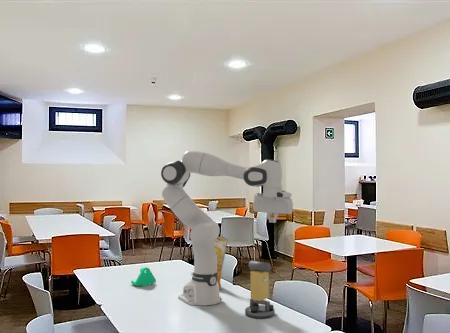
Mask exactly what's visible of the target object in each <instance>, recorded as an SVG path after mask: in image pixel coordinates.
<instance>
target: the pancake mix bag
mask: <svg viewBox="0 0 450 333" xmlns="http://www.w3.org/2000/svg"><path fill="white" fill-rule="evenodd" d="M227 245H228V239H227V238H226V237H223V236H218V237H217V239H216V240H214V246H215V252H216V255H217V272H218V280H217V282H218V285H219V290H221V289H222V286H221V285H222V283H221V279H222V276H223V275H222V274H223V267H224V261H225V257H226V250H227V247H228V246H227Z"/></svg>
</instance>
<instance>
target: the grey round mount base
mask: <svg viewBox="0 0 450 333" xmlns="http://www.w3.org/2000/svg"><path fill="white" fill-rule="evenodd" d="M266 301H267V302H265V305H262V304H258V303H253V299H251V298H249V306H246V308H245V310H244V314H245V316H246V317H248V318H250V319H255V320H267V319H271V318H273V317H275V312H276V310H275V308H274V305H273V304H271V301H268V300H266Z"/></svg>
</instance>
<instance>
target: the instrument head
mask: <svg viewBox="0 0 450 333" xmlns="http://www.w3.org/2000/svg"><path fill="white" fill-rule="evenodd" d="M248 268H249V270H250V299H253V303H258V304H259V305H264V306H265V302H267V301H268V300H266V299H269V298H270V287H269V286H270V284H269V280H270V276H269V273H270V271H271V270H272V269H271V268H272V267H271V264H270V262H264V261H256V260H250V261H249V262H248Z"/></svg>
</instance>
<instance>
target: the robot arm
mask: <svg viewBox="0 0 450 333" xmlns="http://www.w3.org/2000/svg"><path fill="white" fill-rule="evenodd" d="M160 171H161V173H160V176H161V178H162V180H163V182H165V183H166V185H165V186H164V188H163V190H162V191H161V196H162V198H163V200H164V201H165V204H166V205H167V206H168V208H169V209H170V210H171V211H172V212H173V214H174V216H176V217H177V219H178V220H179V221H180V223H182V224H184V225H186V226H187V227H188V228H189V229H190V233H189V237H190V238H189V239H190V240H191V244H192V245H191V246H192V250H193V258H194V259H193V260H194V262H193V266H194V268H193V272H192V273H190V276H192V277H191V279H190V281H188V282H187V283H185V285H184V286H183V292H182V294H179V295H178V299H179V300H181V302H182V301H183V302H185V304H188V305H189V306H212V305H216V304H219V303H221V298H222V297H221V295H220V289H219V285H218V282H217V280H218V272H217V255H216V252H215V246H214V240H216V239H217V237H218V236H219V235H220V230H221V229H220V226H219V224H218V223H217V222H216V221H214V220H213V219H212V218H211V217H210V216H209V214H208V213H205V211H203V210H202V209H201V208H200V207H199V206H198V205H197V204H196V202H195V201H194V200H193V199H192V197H190V195H189V194H188V193H187V192H186V191H185V190H184V187H185V186H186V185H187V183H188V181H189V180H190V177H191V174H197V175H201V176H207V177H232V178H236V179H240V180H243V181H244V182H245V184H247V185H248V186H249V187H257V188H260V187H263V189H262V190H263V191H262V193H261V192H258V193H256V194H254V196H253V207H252V208H253V211H254V212H255V213H263V214H265V213H266V216H267V218H268V223H273V224H275V223H277V219H278V217H279V214H285V215H291V214H292V213H293V212H294V205H293V204H294V202H293V199H292V193H291V192H289V191H287V190H283V188H282V187H283V186H282V178H283V177H282V176H283V175H282V174H283V173H282V172H283V171H282V165H281V162H279V161H277V160H275V159H264V160H263V161H261V162H260V163H258V164H256V165H254V166H250V167H246V166H241V165H238V164H237V165H236V164H233V163H230V162H228V161H226V160H225V159H223V158H220V157H218V156H216V155H214V154H212V153H208V152H204V151H197V150H187V151H185V152H184V154H183V155H182V158H181V160H175V161H171V162H168V163H166V164H165V165H163V167H162V168H161V170H160ZM272 215H273V218H272ZM219 237H220V236H219Z"/></svg>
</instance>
